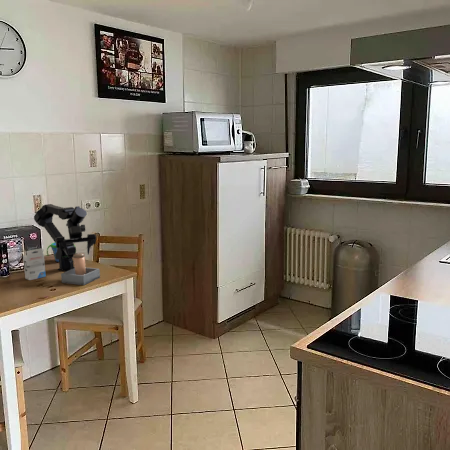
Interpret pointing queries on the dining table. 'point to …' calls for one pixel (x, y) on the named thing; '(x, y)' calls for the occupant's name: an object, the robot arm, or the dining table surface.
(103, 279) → the dining table surface
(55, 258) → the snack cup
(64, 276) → the box
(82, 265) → the jar
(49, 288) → the dining table surface
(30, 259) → the ink box
